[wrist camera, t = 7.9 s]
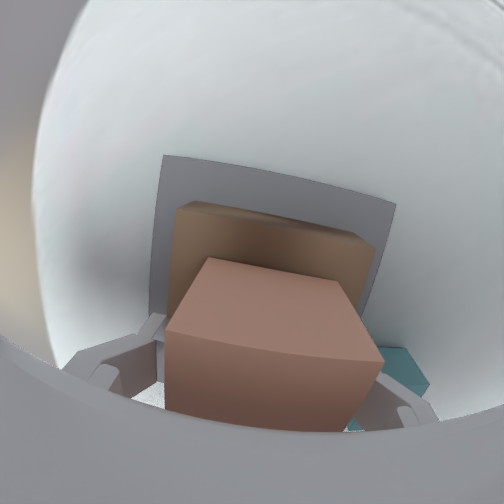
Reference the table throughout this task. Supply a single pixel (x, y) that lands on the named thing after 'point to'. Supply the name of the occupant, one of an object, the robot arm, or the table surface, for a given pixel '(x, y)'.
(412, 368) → the teal cube
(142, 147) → the table surface
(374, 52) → the table surface
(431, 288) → the table surface
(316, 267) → the base brick
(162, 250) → the mat
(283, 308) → the terracotta cube
